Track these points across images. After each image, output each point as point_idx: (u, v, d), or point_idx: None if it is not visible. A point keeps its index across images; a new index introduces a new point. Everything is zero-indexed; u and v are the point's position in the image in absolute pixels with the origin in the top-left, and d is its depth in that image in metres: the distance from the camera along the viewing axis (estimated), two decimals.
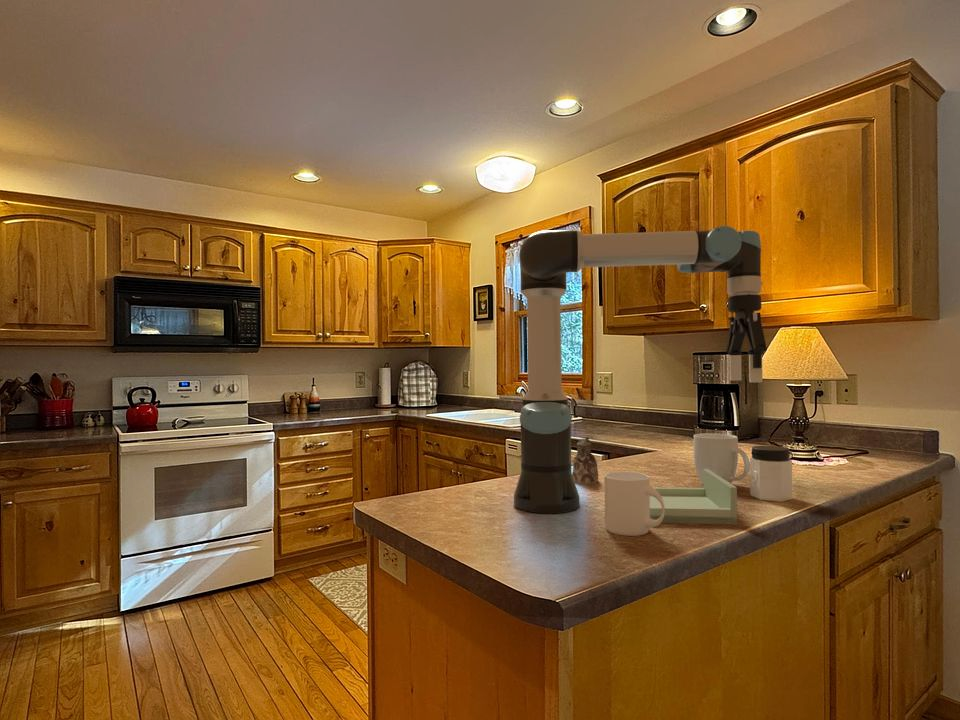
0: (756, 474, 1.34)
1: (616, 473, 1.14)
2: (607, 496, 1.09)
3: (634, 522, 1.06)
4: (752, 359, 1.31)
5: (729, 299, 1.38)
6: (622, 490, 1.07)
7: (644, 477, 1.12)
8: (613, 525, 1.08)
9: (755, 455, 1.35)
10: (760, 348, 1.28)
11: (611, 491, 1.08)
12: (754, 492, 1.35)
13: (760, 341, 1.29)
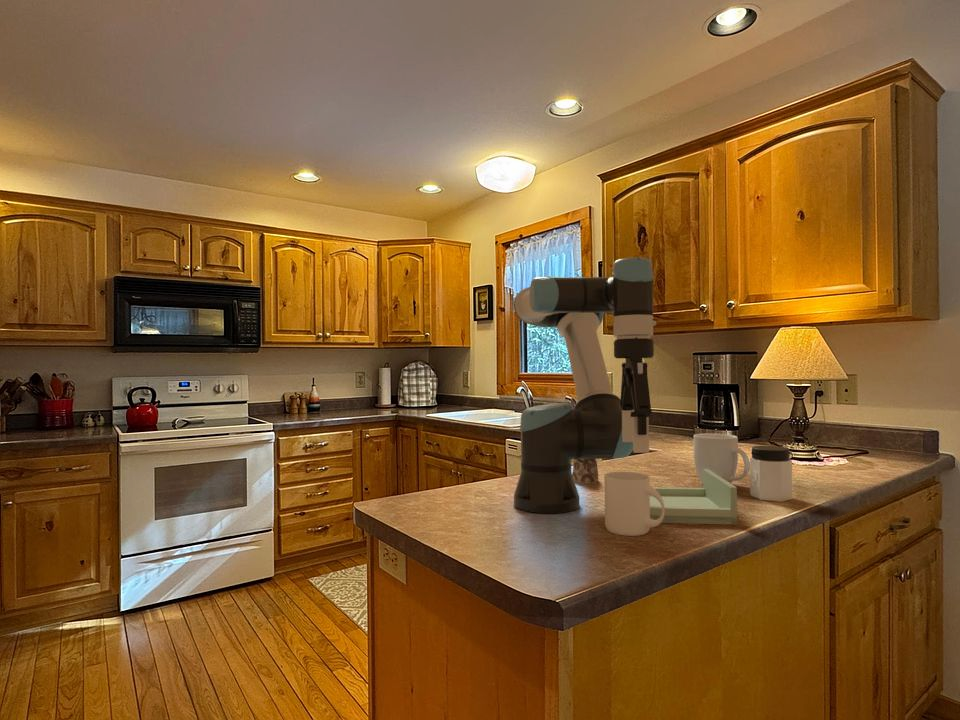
0: (756, 474, 1.34)
1: (616, 473, 1.14)
2: (607, 496, 1.09)
3: (634, 522, 1.06)
4: (636, 423, 1.02)
5: (614, 343, 1.09)
6: (622, 490, 1.07)
7: (644, 477, 1.12)
8: (613, 525, 1.08)
9: (755, 455, 1.35)
10: (643, 410, 0.99)
11: (611, 491, 1.08)
12: (754, 492, 1.35)
13: (644, 401, 1.00)
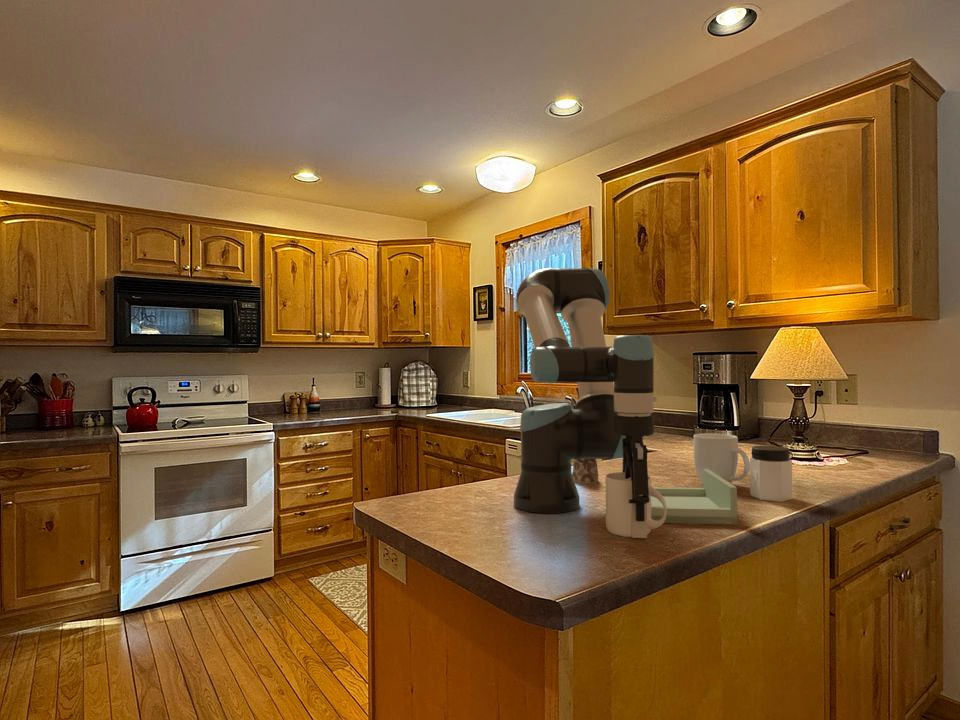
0: (756, 474, 1.34)
1: (617, 474, 1.13)
2: (608, 497, 1.08)
3: None
4: (634, 509, 1.04)
5: (615, 419, 1.09)
6: (624, 491, 1.06)
7: None
8: (615, 526, 1.07)
9: (755, 455, 1.35)
10: (641, 500, 1.02)
11: (613, 492, 1.07)
12: (754, 492, 1.35)
13: (642, 490, 1.02)
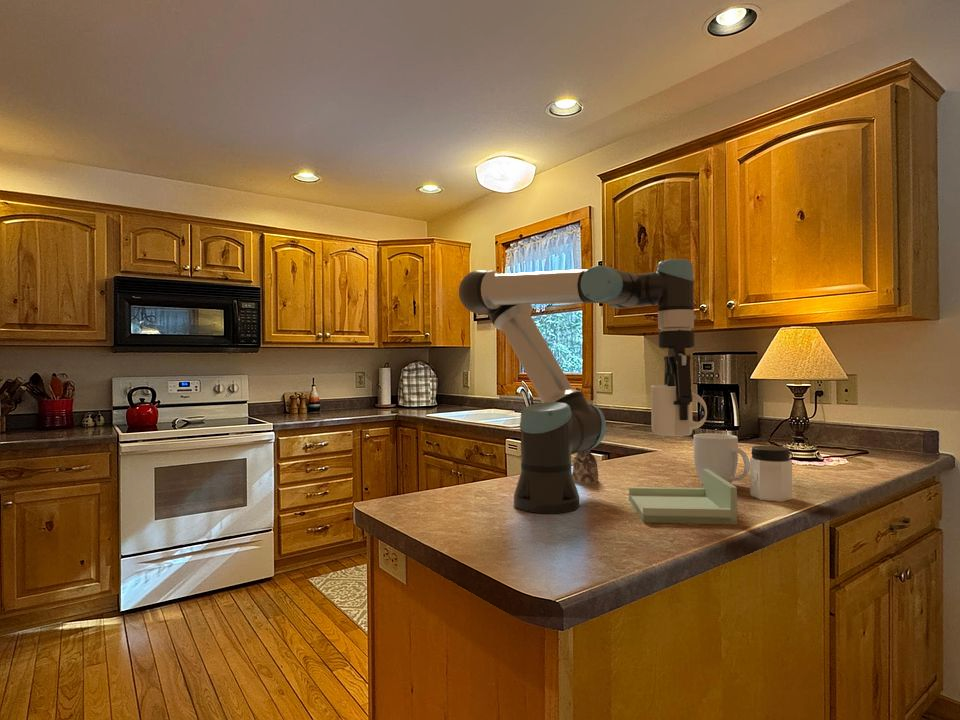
0: (756, 474, 1.34)
1: None
2: (654, 403, 1.23)
3: None
4: (678, 410, 1.19)
5: (659, 335, 1.24)
6: (669, 395, 1.20)
7: None
8: (660, 427, 1.21)
9: (755, 455, 1.35)
10: (685, 400, 1.16)
11: (658, 397, 1.22)
12: (754, 492, 1.35)
13: (686, 391, 1.16)
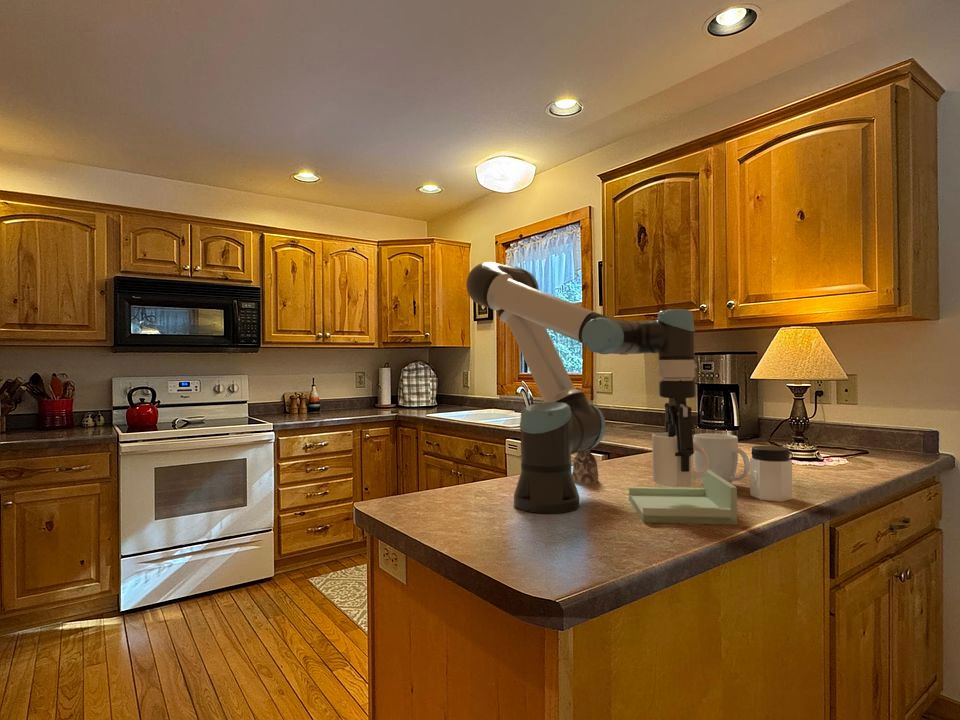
0: (756, 474, 1.34)
1: (661, 434, 1.28)
2: (656, 452, 1.23)
3: None
4: (680, 461, 1.19)
5: (660, 384, 1.24)
6: (670, 446, 1.20)
7: None
8: (662, 478, 1.21)
9: (755, 455, 1.35)
10: (687, 452, 1.16)
11: (660, 447, 1.22)
12: (754, 492, 1.35)
13: (687, 443, 1.16)
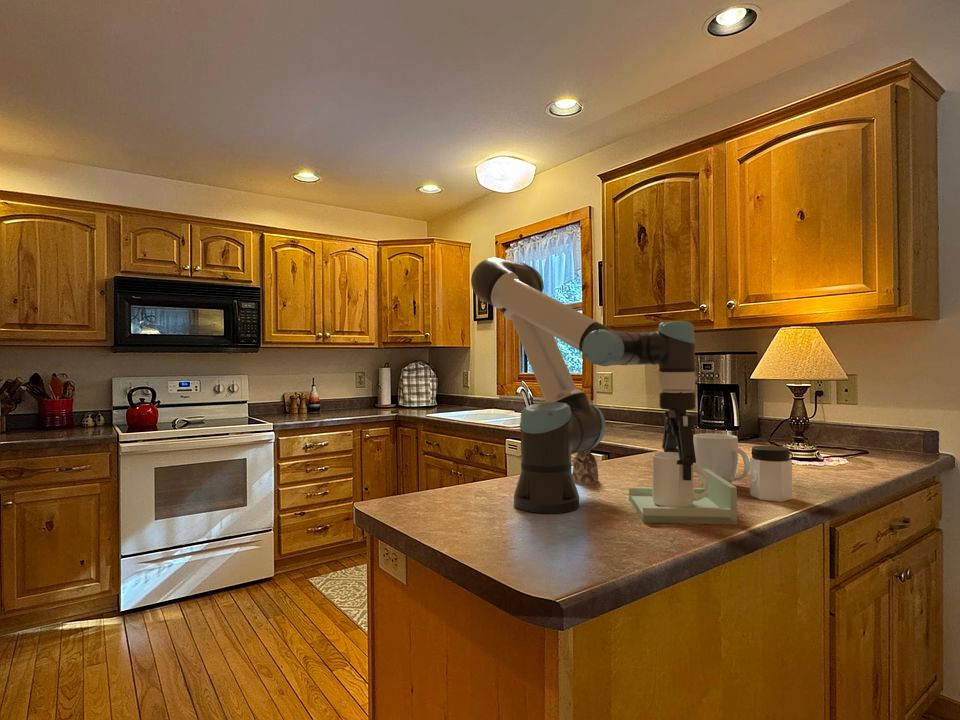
0: (756, 474, 1.34)
1: (661, 453, 1.28)
2: (656, 473, 1.23)
3: (681, 496, 1.20)
4: (682, 469, 1.17)
5: (660, 396, 1.24)
6: (671, 468, 1.20)
7: None
8: (662, 499, 1.21)
9: (755, 455, 1.35)
10: (689, 460, 1.14)
11: (660, 469, 1.22)
12: (754, 492, 1.35)
13: (689, 451, 1.15)
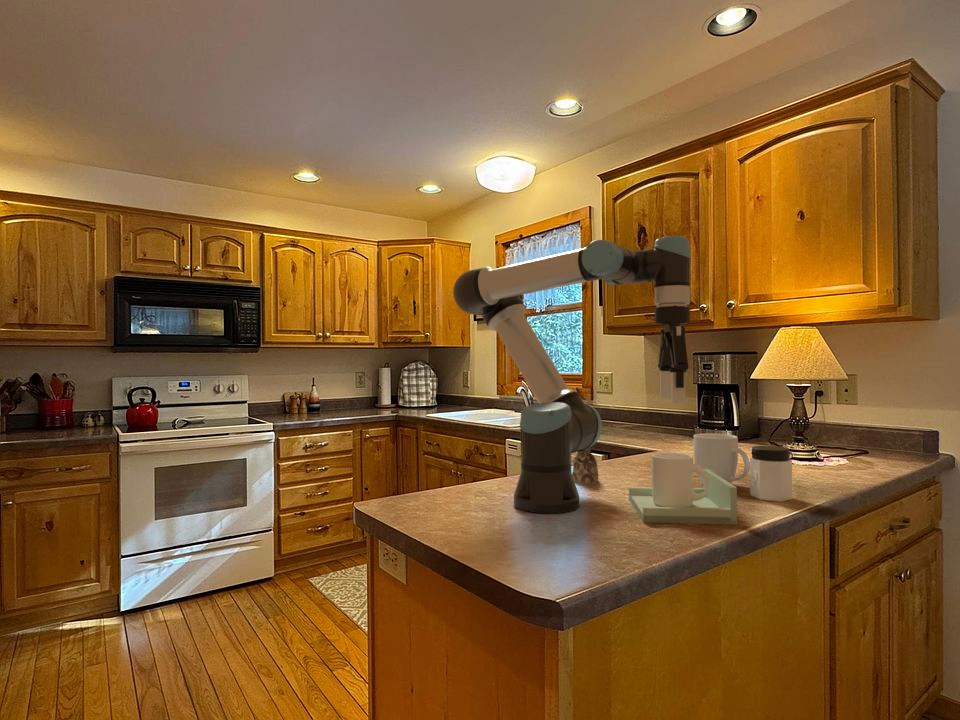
0: (756, 474, 1.34)
1: (661, 454, 1.28)
2: (656, 474, 1.23)
3: (681, 496, 1.20)
4: (674, 378, 1.19)
5: (655, 310, 1.26)
6: (671, 468, 1.20)
7: (687, 457, 1.25)
8: (662, 499, 1.21)
9: (755, 455, 1.35)
10: (681, 366, 1.16)
11: (660, 469, 1.22)
12: (754, 492, 1.35)
13: (682, 358, 1.17)
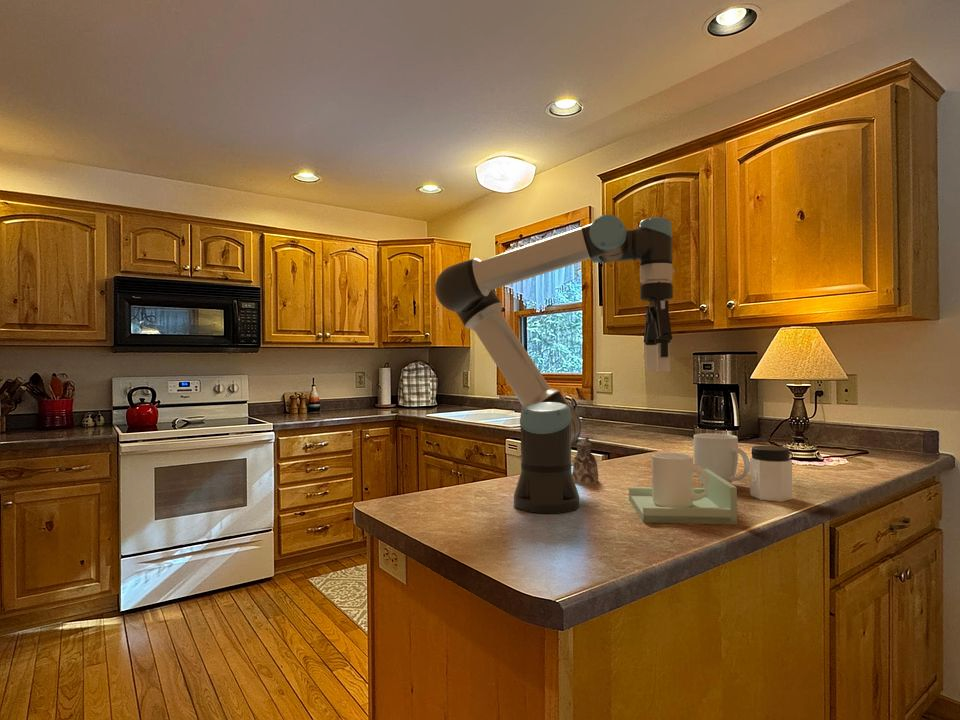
0: (756, 474, 1.34)
1: (661, 454, 1.28)
2: (656, 474, 1.23)
3: (681, 496, 1.20)
4: (659, 348, 1.28)
5: (641, 287, 1.35)
6: (671, 468, 1.20)
7: (687, 457, 1.25)
8: (662, 499, 1.21)
9: (755, 455, 1.35)
10: (665, 336, 1.25)
11: (660, 469, 1.22)
12: (754, 492, 1.35)
13: (666, 329, 1.26)
